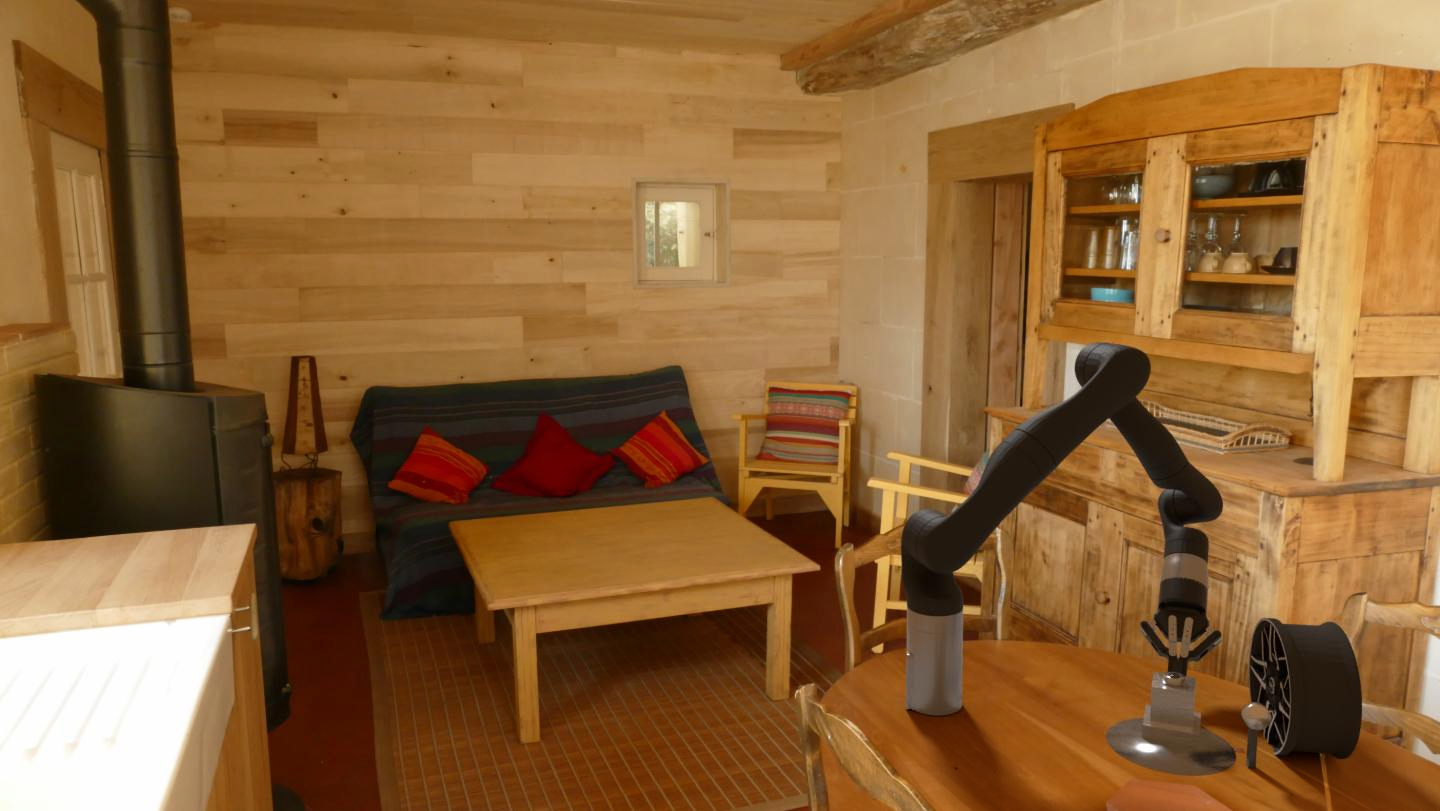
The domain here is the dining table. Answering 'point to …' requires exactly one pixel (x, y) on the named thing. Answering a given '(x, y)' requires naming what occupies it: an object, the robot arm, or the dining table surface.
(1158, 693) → the cover
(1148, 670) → the dining table surface
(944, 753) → the dining table surface
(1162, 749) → the turntable
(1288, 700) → the wheel rim
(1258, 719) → the dial indicator post
